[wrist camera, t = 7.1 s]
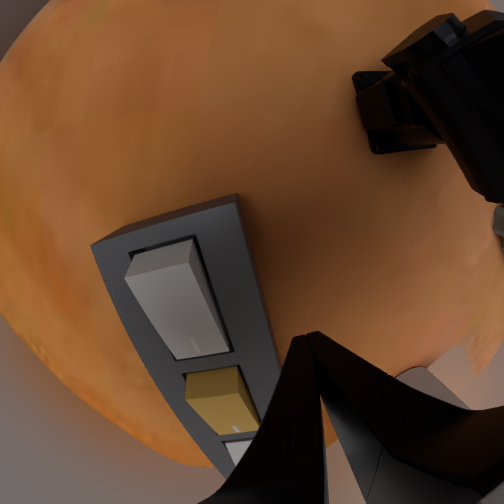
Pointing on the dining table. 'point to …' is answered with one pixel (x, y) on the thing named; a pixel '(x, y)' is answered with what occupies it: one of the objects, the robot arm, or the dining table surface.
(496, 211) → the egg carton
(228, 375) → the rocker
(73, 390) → the dining table surface
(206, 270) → the rocker switch panel
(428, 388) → the cup
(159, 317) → the rocker
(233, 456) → the rocker
